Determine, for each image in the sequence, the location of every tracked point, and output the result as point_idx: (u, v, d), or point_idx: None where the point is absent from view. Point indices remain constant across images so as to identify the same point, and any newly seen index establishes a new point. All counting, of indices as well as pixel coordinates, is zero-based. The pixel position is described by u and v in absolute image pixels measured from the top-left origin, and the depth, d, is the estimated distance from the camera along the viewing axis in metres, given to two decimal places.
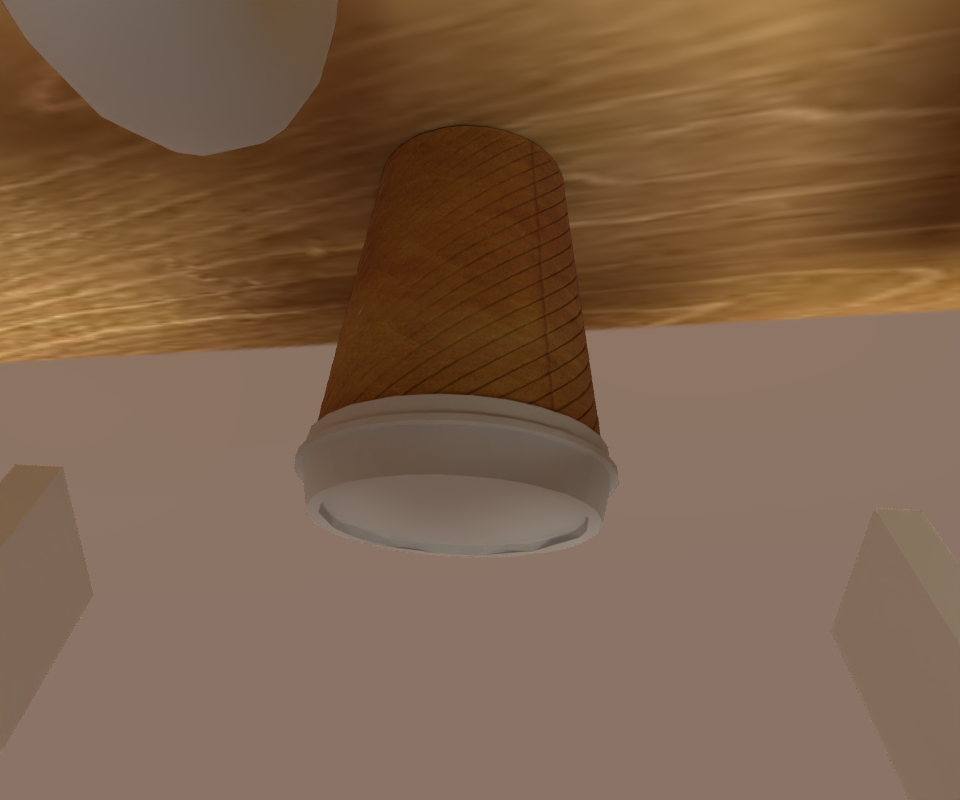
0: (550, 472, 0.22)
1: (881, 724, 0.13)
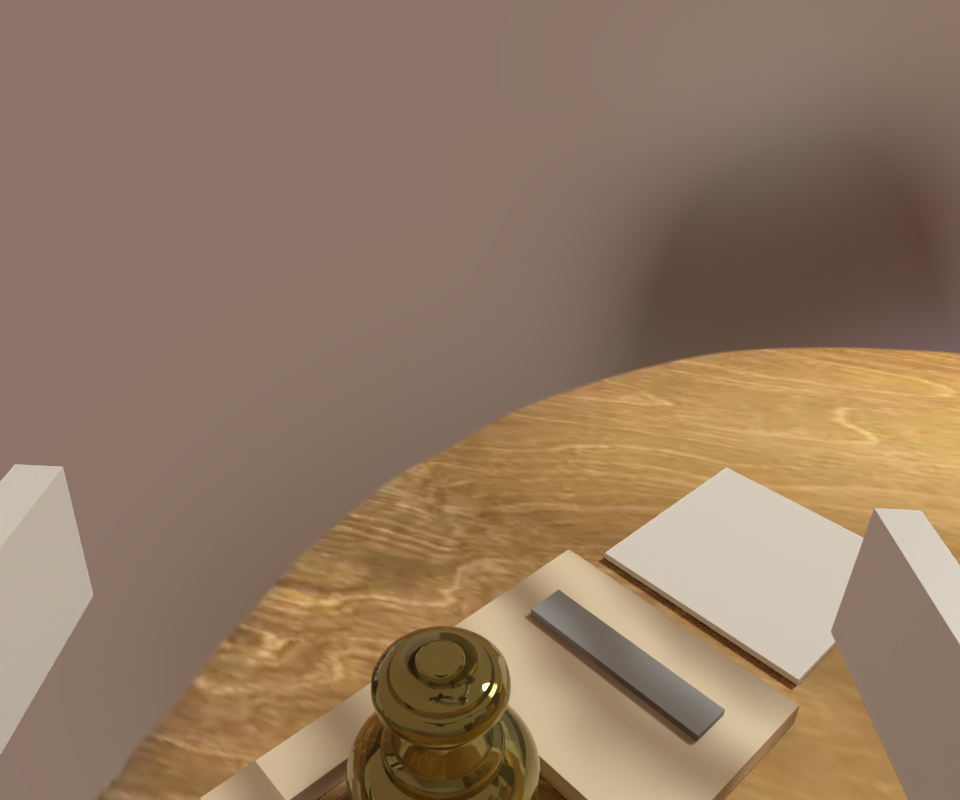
0: None
1: (882, 724, 0.13)
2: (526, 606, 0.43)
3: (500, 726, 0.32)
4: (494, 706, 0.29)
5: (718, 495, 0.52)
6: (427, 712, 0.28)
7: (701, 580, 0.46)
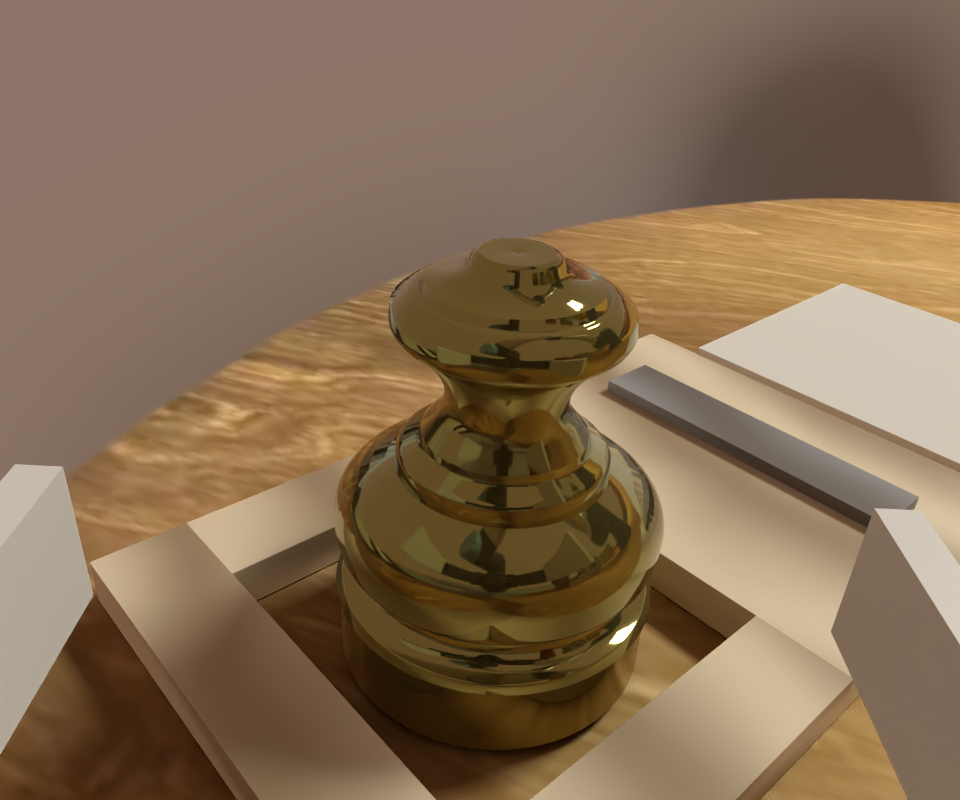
0: None
1: (881, 724, 0.13)
2: (599, 382, 0.30)
3: (600, 434, 0.19)
4: (617, 329, 0.16)
5: (839, 306, 0.40)
6: (497, 319, 0.15)
7: (837, 379, 0.33)
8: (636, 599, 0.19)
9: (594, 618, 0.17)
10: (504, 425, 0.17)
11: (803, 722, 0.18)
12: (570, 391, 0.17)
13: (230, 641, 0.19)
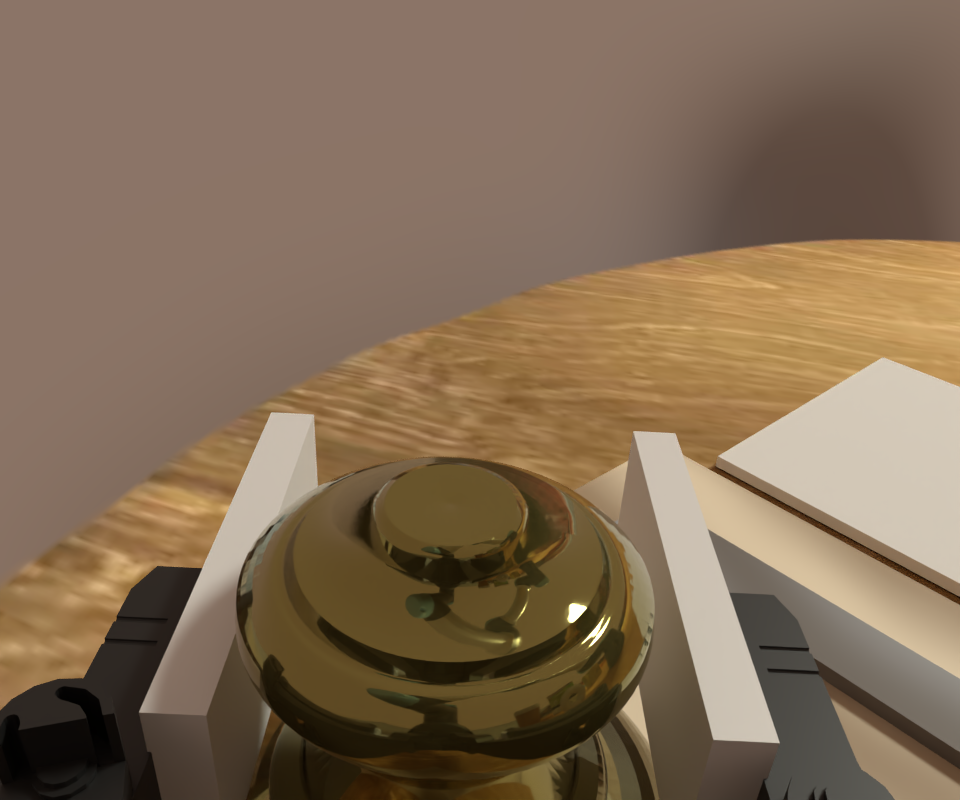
0: None
1: None
2: None
3: None
4: (620, 653, 0.09)
5: (881, 390, 0.33)
6: (405, 660, 0.08)
7: (892, 502, 0.27)
8: None
9: None
10: (432, 781, 0.10)
11: None
12: None
13: None
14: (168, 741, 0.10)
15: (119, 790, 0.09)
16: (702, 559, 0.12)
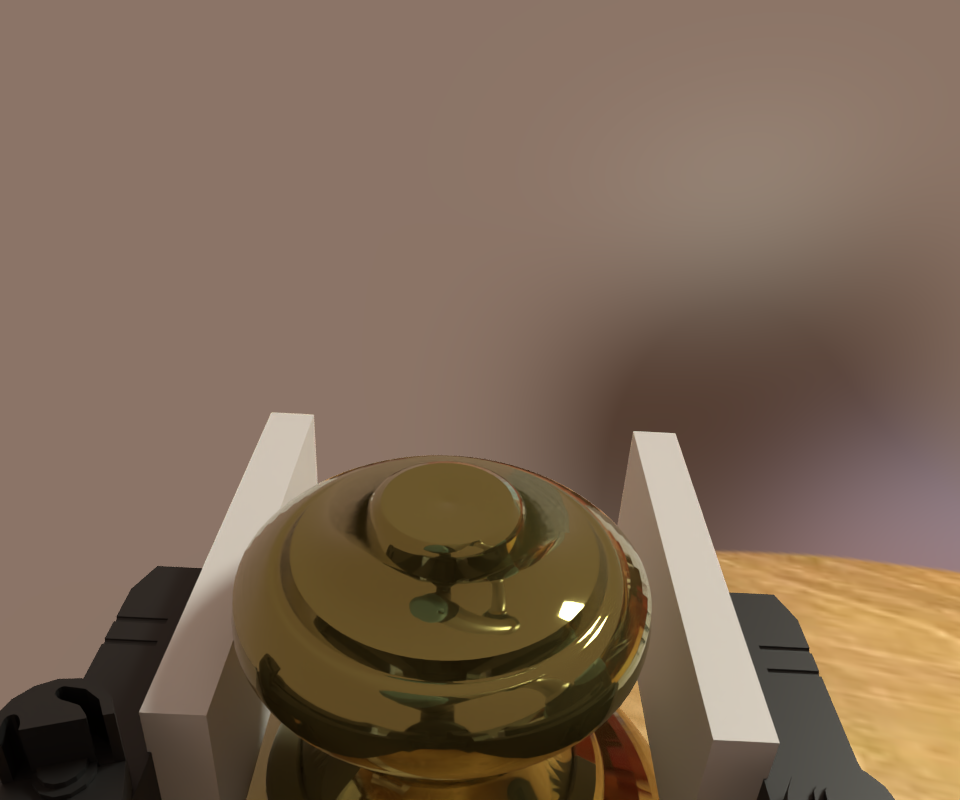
0: None
1: None
2: None
3: None
4: (616, 651, 0.09)
5: None
6: (401, 659, 0.08)
7: None
8: None
9: None
10: (428, 780, 0.10)
11: None
12: None
13: None
14: (169, 741, 0.10)
15: (119, 790, 0.09)
16: (703, 559, 0.12)
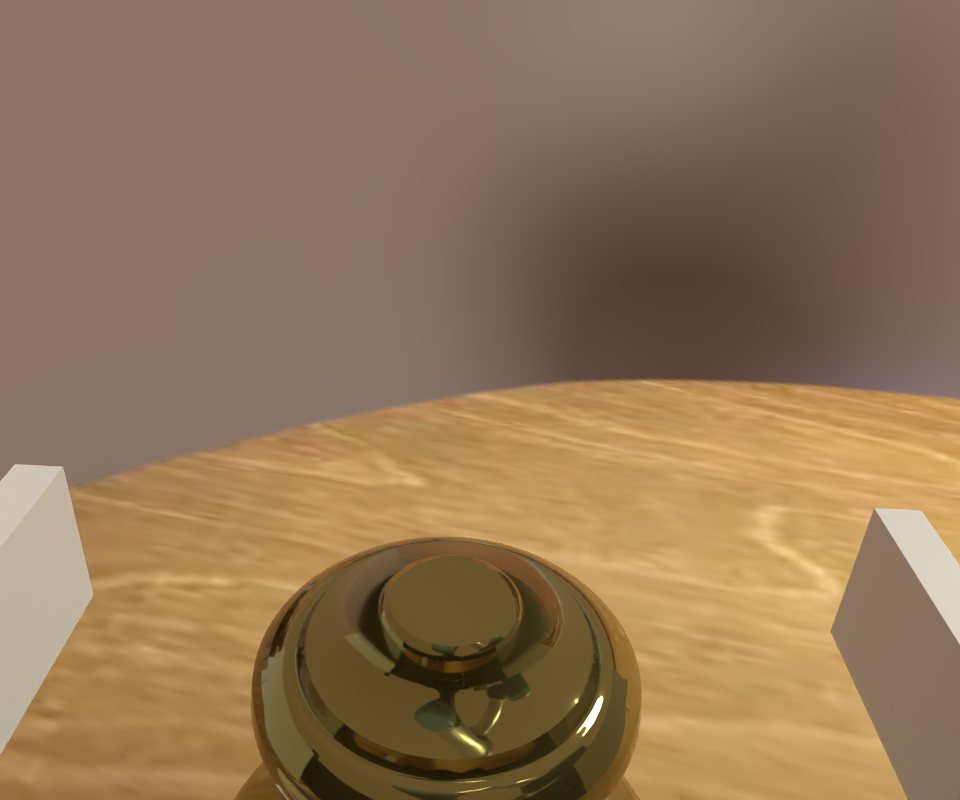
0: None
1: (881, 724, 0.13)
2: None
3: None
4: (607, 746, 0.10)
5: None
6: (410, 757, 0.09)
7: None
8: None
9: None
10: None
11: None
12: None
13: None
14: None
15: None
16: None
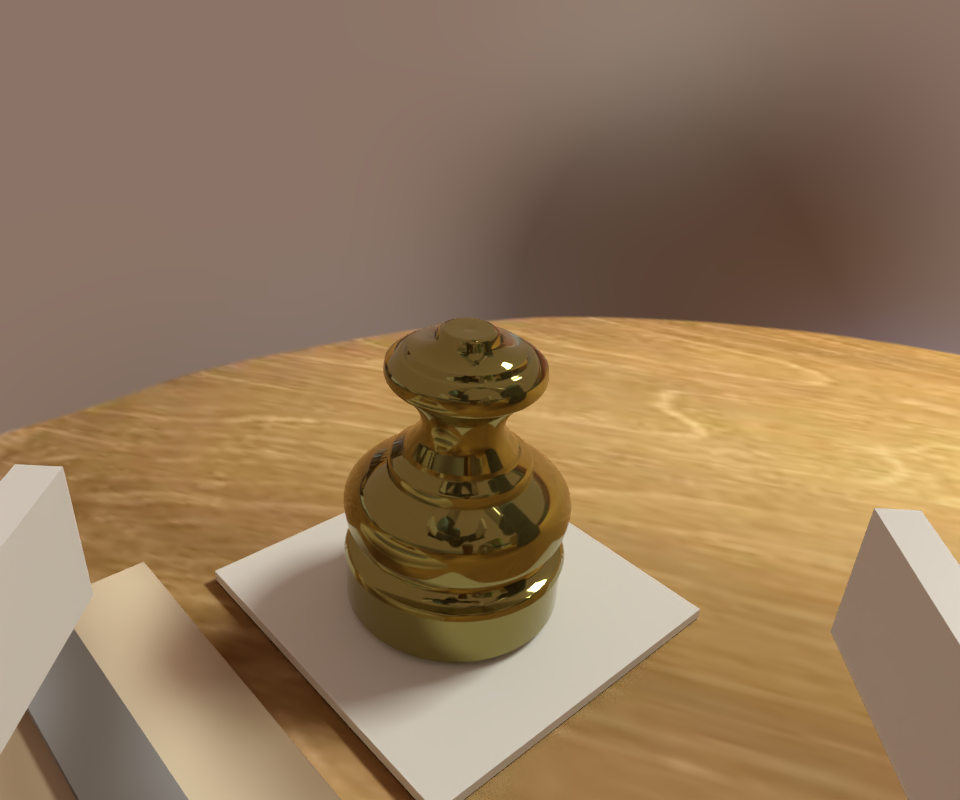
0: None
1: (881, 724, 0.13)
2: None
3: (528, 448, 0.28)
4: (532, 380, 0.24)
5: None
6: (454, 375, 0.24)
7: (349, 622, 0.28)
8: (553, 562, 0.28)
9: (518, 569, 0.25)
10: (460, 442, 0.25)
11: None
12: (503, 420, 0.25)
13: None
14: None
15: None
16: None
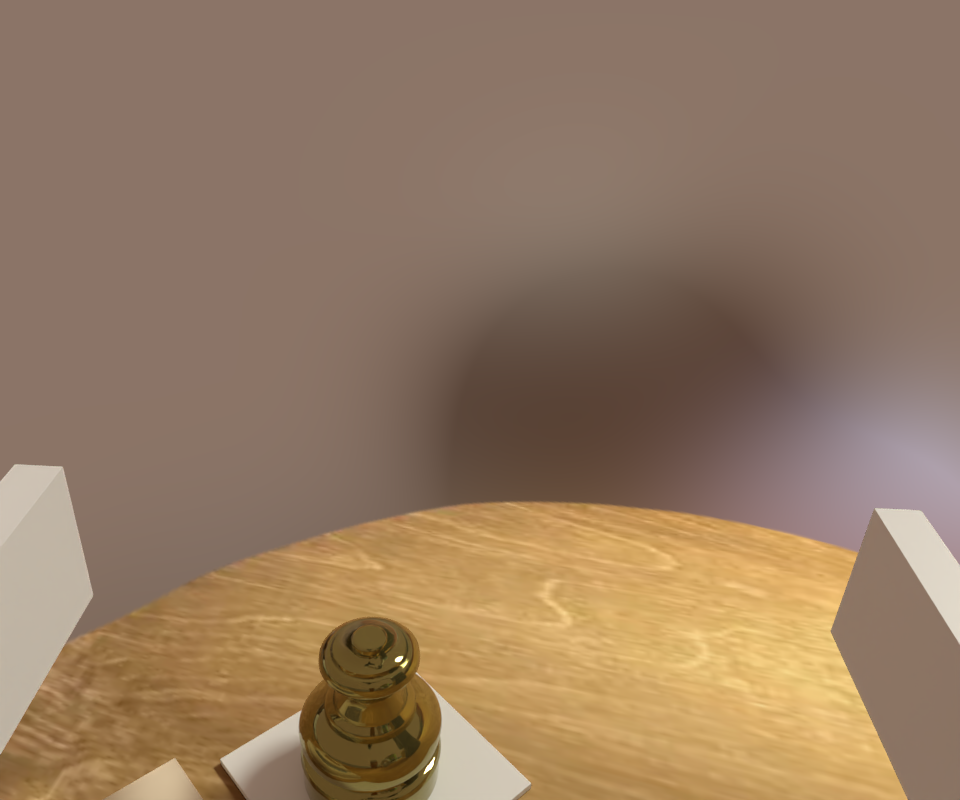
0: None
1: (881, 724, 0.13)
2: None
3: (413, 692, 0.44)
4: (405, 672, 0.41)
5: None
6: (357, 674, 0.40)
7: (304, 798, 0.45)
8: (431, 761, 0.44)
9: (401, 779, 0.42)
10: (365, 703, 0.42)
11: None
12: None
13: None
14: None
15: None
16: None
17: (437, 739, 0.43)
